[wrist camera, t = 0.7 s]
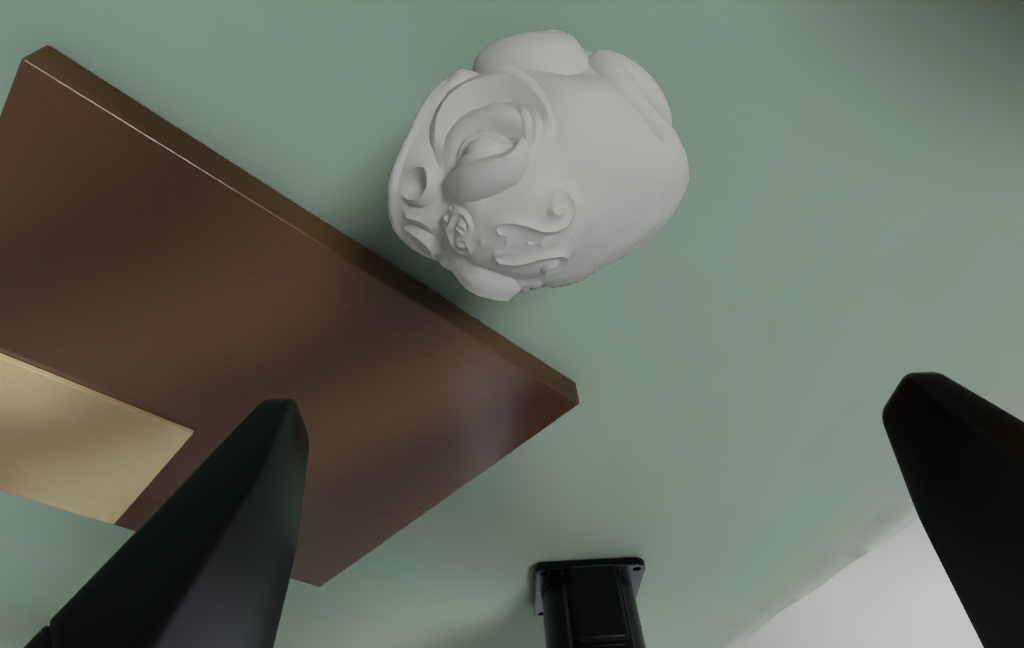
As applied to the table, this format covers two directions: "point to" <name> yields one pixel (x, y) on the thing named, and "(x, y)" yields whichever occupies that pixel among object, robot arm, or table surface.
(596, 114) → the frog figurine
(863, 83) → the table surface
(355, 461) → the board
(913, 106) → the table surface
